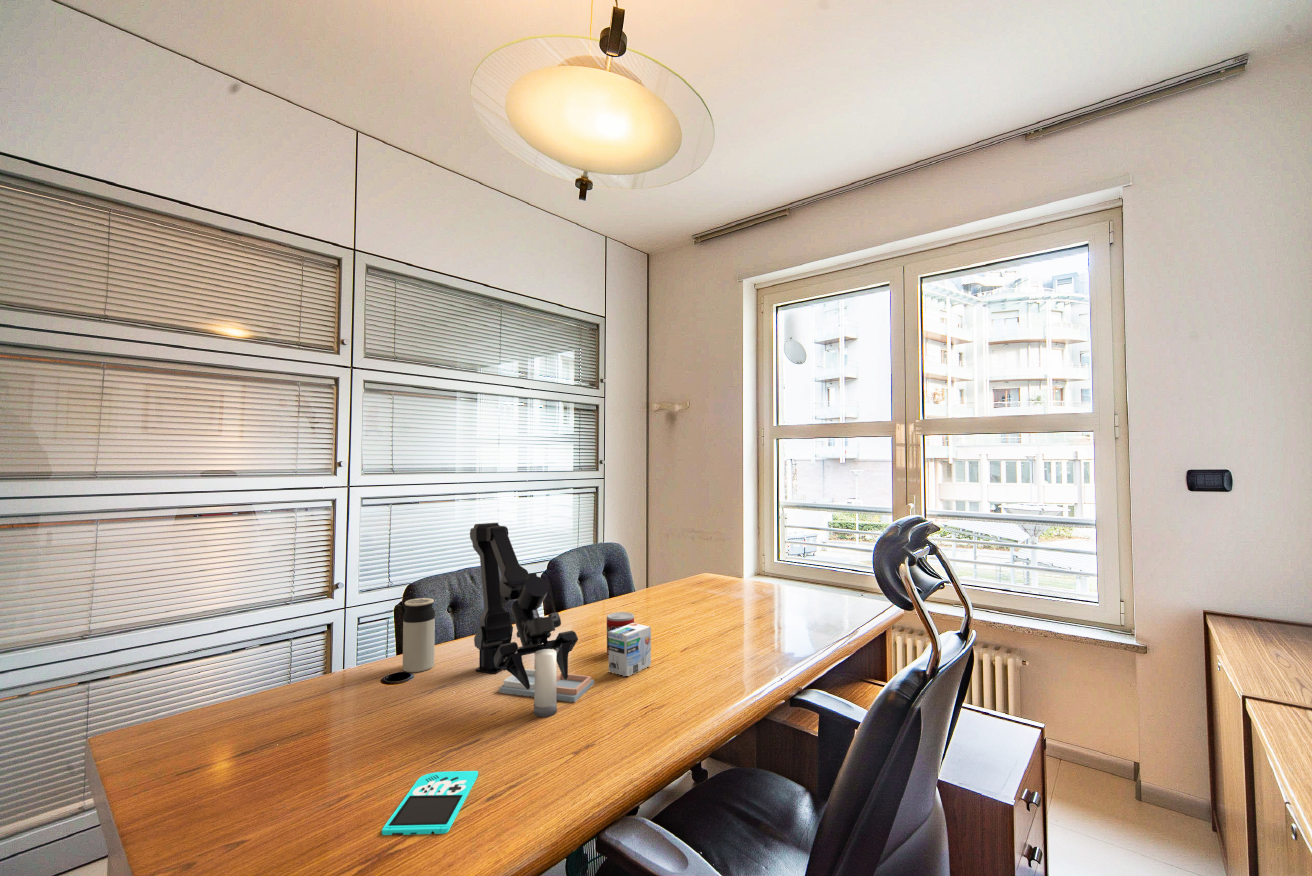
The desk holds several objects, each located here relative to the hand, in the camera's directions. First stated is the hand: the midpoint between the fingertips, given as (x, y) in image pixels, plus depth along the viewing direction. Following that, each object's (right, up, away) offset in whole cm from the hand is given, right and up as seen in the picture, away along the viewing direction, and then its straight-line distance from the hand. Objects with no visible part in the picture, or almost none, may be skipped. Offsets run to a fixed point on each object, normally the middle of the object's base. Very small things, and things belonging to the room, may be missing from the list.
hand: (547, 683), depth 123 cm
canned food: (+14, -9, +39) cm, 42 cm away
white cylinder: (-1, -7, +1) cm, 7 cm away
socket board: (-3, -7, +14) cm, 16 cm away
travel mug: (-41, -9, +29) cm, 51 cm away
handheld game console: (-12, -6, -32) cm, 35 cm away
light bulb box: (+17, -8, +27) cm, 33 cm away
